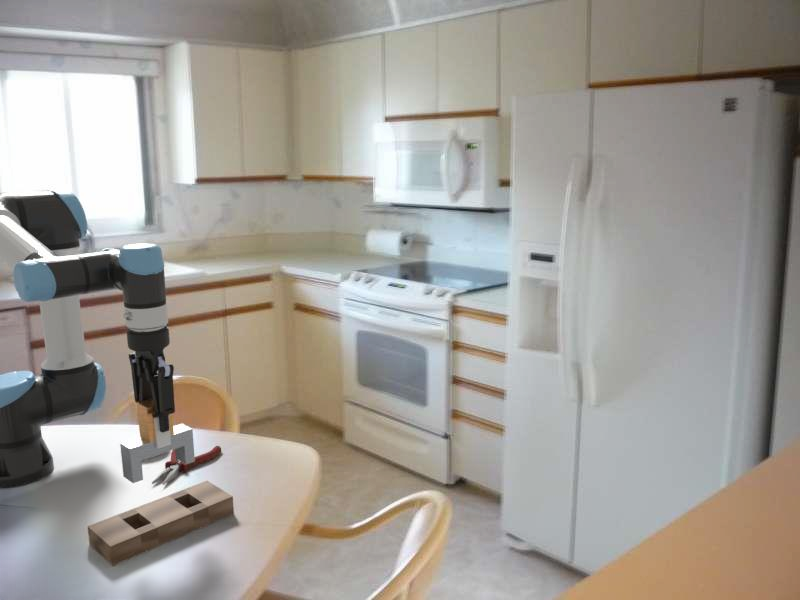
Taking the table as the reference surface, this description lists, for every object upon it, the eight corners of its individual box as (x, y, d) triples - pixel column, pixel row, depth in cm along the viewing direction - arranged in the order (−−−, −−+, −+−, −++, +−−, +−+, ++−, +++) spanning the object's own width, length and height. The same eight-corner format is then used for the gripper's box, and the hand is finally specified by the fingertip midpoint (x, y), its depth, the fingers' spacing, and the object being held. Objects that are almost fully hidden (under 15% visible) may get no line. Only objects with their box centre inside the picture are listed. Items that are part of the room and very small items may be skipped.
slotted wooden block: (89, 544, 141) (87, 526, 140) (208, 497, 159) (207, 480, 158) (112, 566, 134) (110, 546, 133) (233, 513, 152) (232, 496, 151)
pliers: (135, 485, 165) (134, 475, 164) (182, 448, 184) (181, 439, 183) (180, 492, 162) (180, 481, 162) (223, 454, 181) (223, 444, 181)
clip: (123, 476, 140) (116, 408, 137) (184, 455, 149) (179, 390, 146) (133, 483, 137) (126, 413, 134) (194, 461, 146) (189, 395, 143)
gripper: (108, 322, 140) (119, 435, 145) (150, 339, 128) (161, 462, 133) (144, 315, 145) (154, 425, 150) (188, 331, 133) (197, 449, 139)
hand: (157, 442), depth 142 cm, fingers closed on clip, 4 cm apart
